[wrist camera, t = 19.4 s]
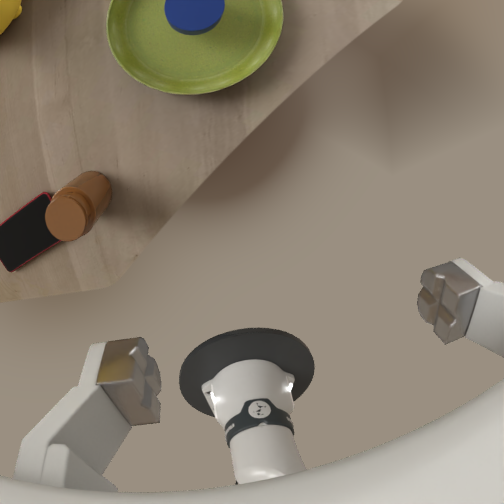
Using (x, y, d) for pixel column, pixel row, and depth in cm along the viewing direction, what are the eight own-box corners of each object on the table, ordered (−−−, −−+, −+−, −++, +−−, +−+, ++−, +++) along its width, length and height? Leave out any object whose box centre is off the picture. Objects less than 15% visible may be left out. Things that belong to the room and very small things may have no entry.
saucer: (136, 118, 35) (131, 119, 32) (98, -15, 25) (92, -23, 22) (295, 73, 35) (303, 71, 33) (254, -56, 26) (258, -66, 23)
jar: (118, 205, 40) (98, 236, 31) (82, 219, 39) (55, 252, 30) (103, 164, 37) (76, 184, 28) (66, 180, 36) (33, 204, 27)
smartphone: (-15, 236, 36) (45, 190, 35) (-12, 234, 37) (48, 188, 36) (9, 274, 39) (71, 234, 39) (11, 271, 40) (73, 232, 40)
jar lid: (160, -4, 26) (158, -11, 24) (215, -18, 26) (217, -25, 24) (173, 42, 29) (171, 37, 27) (228, 28, 29) (231, 22, 27)
